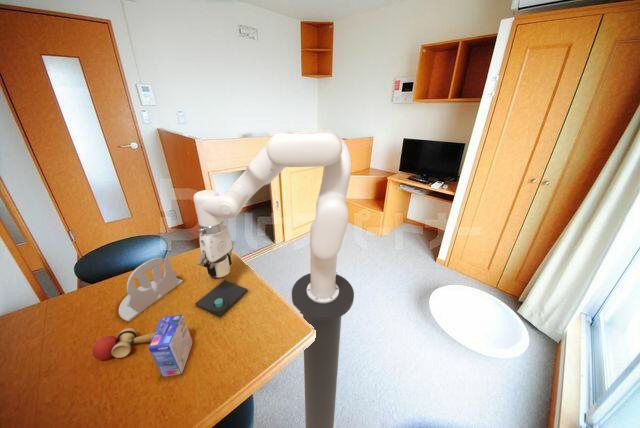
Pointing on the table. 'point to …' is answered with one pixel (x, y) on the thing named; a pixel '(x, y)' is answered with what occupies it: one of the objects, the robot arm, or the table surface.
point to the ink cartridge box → (171, 345)
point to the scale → (227, 293)
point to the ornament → (147, 287)
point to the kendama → (119, 344)
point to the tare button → (219, 303)
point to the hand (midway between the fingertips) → (220, 269)
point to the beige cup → (222, 266)
